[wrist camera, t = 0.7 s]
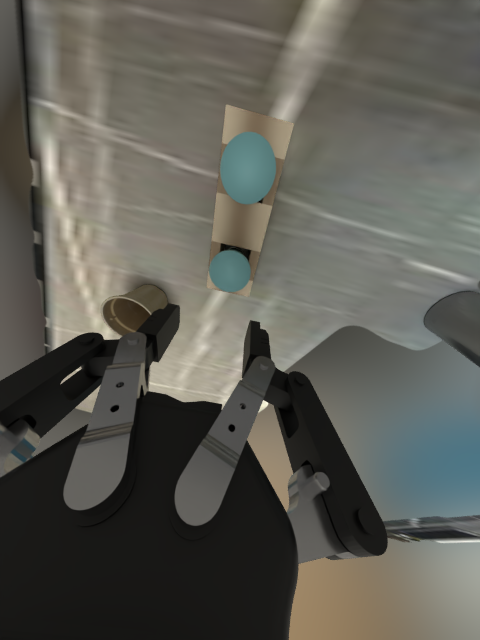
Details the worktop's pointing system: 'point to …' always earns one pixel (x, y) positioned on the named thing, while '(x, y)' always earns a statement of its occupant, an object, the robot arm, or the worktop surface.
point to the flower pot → (132, 308)
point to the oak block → (247, 219)
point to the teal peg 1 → (248, 168)
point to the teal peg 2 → (230, 270)
